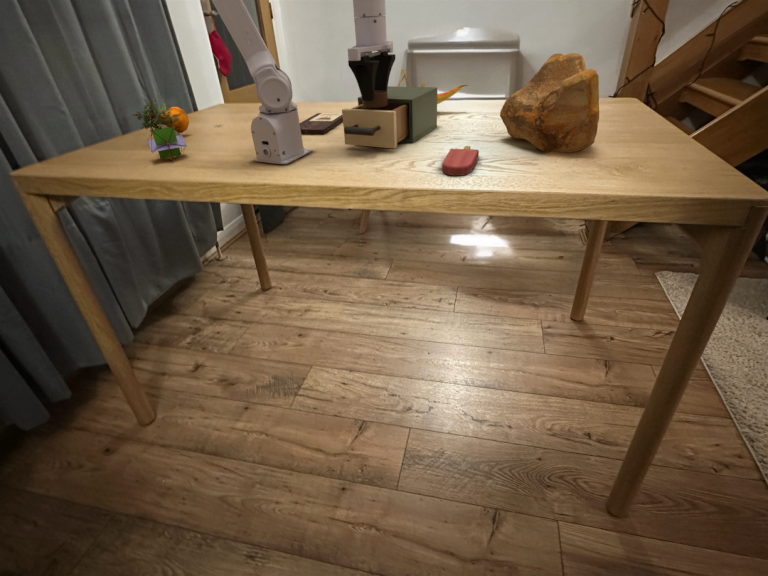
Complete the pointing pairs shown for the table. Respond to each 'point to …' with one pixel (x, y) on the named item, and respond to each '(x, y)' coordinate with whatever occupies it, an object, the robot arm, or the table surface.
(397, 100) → the cabinet
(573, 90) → the rough brown rock
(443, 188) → the table surface
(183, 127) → the christmas decoration
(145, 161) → the table surface
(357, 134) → the drawer
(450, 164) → the popsicle
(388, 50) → the robot arm
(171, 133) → the geometric puzzle
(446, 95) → the magic lamp
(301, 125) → the chocolate bar
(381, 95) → the cookie
